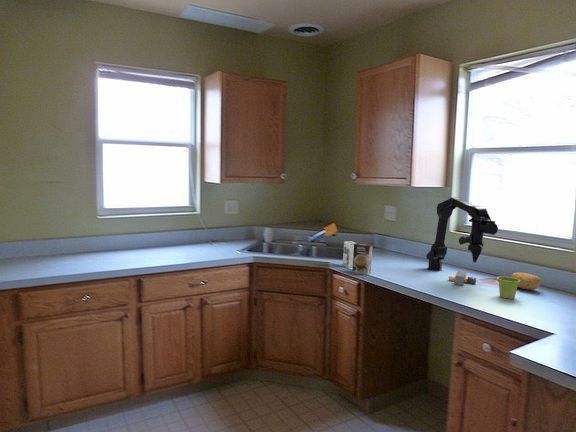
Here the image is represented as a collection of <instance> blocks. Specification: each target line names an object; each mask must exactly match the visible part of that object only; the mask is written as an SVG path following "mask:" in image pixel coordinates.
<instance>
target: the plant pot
mask: <svg viewBox="0 0 576 432" xmlns="http://www.w3.org/2000/svg"><path fill="white" fill-rule="evenodd" d="M496 279H497V282H498V289H499V297H501V298H503V299H510V300H512V299H513V300H514V299H515V298H516V294H517V289H518V287H517V286H518V284H519V282H520V280H519V279H516V278H512V277H511V276H497V278H496Z"/></svg>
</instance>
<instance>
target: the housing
mask: <svg viewBox="0 0 576 432" xmlns="http://www.w3.org/2000/svg"><path fill="white" fill-rule="evenodd" d="M454 277H455V281H454V285H455V286H464V285H465V283H464V280H465V278H466V279H467V270H461V269H460V270H459V269H458V270H457V272H456V274H455V276H454Z"/></svg>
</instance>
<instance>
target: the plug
mask: <svg viewBox="0 0 576 432" xmlns="http://www.w3.org/2000/svg"><path fill="white" fill-rule="evenodd" d="M448 281H450V282H451V281H452V282H455V276H448ZM465 283H466V284H472V285H476V283H477V278H476V277H471V276H467V277H466V278H465V280H464V284H465Z"/></svg>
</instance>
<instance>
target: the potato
mask: <svg viewBox="0 0 576 432" xmlns="http://www.w3.org/2000/svg"><path fill="white" fill-rule="evenodd" d="M510 277H512V278H516V279H519V280H520V282H519V284H518V286H517V288H520V289H522V290H525V291H532V290H536V289H537V288H538V287H540V286H541V283H542V279H541V278H540V276H538V275H536V274H535V275H534V274H531V273H527V272H520V271H519V272H518V271H517V272H513V273H512V274H511V275H510Z"/></svg>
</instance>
